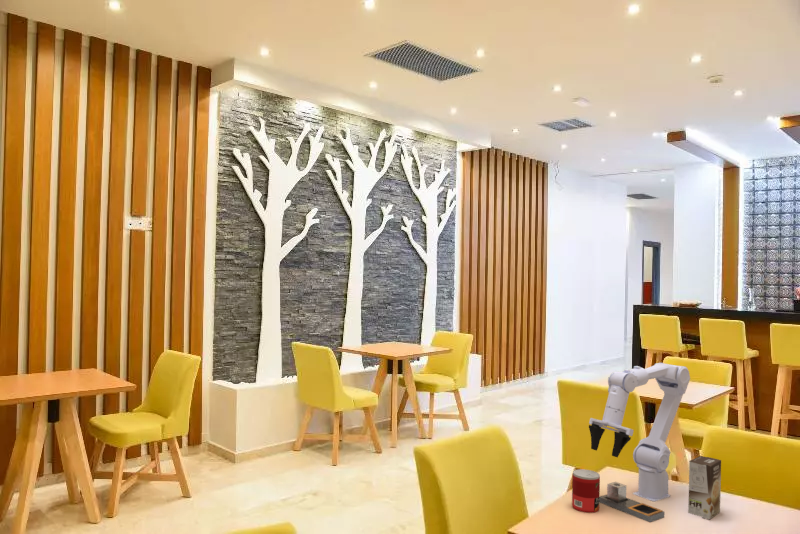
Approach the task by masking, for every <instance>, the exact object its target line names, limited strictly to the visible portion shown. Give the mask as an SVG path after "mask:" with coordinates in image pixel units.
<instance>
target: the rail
mask: <svg viewBox="0 0 800 534" xmlns="http://www.w3.org/2000/svg"><path fill="white" fill-rule="evenodd" d="M599 504H603V505H605V506H607V507H610V508H613V509H616V510H617V511H620V512H623V513H625V514H628V515H631V516H633V517H635V518H638V519H641V520H643V521H645V522H648V523H652V522H654V521H658V520H660V519H663V518H665V510H664V511H663V509H659V508H657V507H654V506H651V505H649V504H646V503H643V502H639V501H636V500H633V499H631V498H629V497H626V501H624V502H621V503H616V502H614V501H611V500H609V499H607V494H604V495H599Z"/></svg>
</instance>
